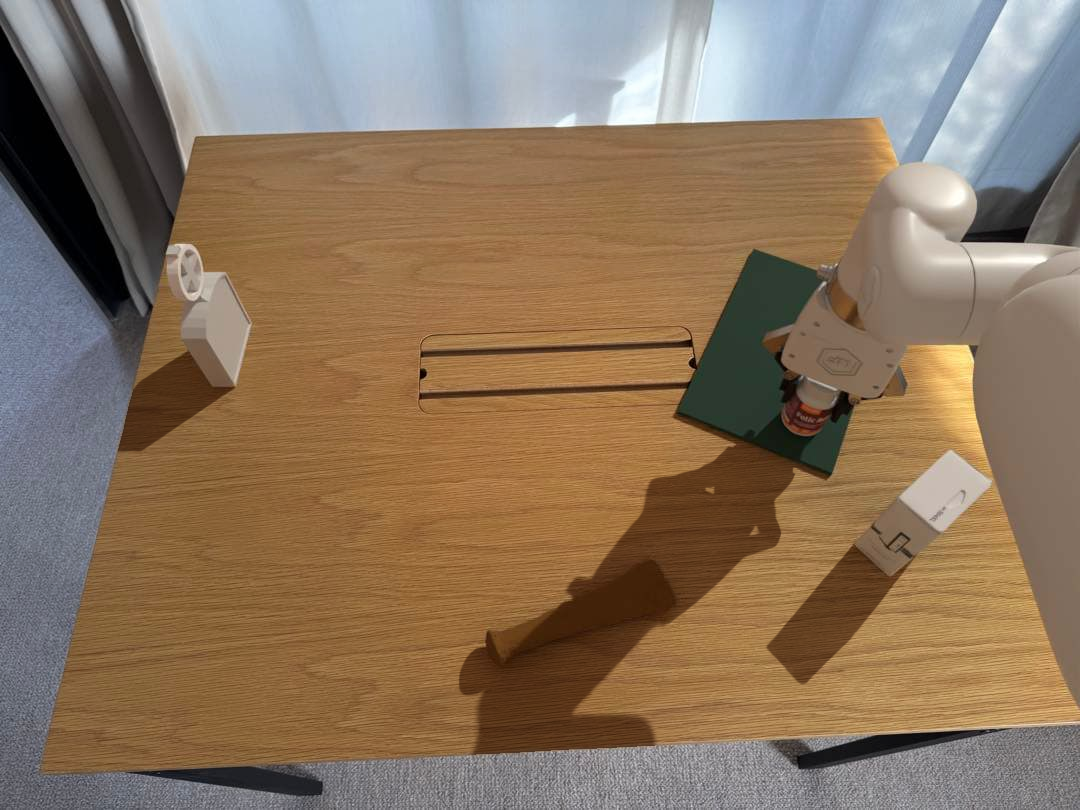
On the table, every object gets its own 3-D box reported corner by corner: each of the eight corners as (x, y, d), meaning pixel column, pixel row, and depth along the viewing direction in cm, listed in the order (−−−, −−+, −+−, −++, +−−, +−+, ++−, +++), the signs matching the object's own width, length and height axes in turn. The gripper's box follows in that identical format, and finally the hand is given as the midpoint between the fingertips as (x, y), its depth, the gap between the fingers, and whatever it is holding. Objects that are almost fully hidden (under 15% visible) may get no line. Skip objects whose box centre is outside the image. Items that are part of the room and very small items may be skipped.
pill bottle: (785, 438, 85) (807, 397, 78) (776, 402, 88) (798, 359, 81) (827, 436, 85) (854, 396, 78) (818, 400, 88) (842, 358, 81)
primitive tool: (652, 558, 79) (657, 546, 76) (680, 606, 76) (685, 595, 73) (480, 638, 75) (478, 629, 72) (503, 692, 72) (501, 684, 69)
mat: (888, 298, 97) (890, 295, 97) (830, 475, 84) (832, 473, 84) (752, 251, 102) (753, 248, 101) (676, 413, 88) (677, 410, 88)
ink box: (901, 496, 83) (951, 443, 73) (940, 529, 81) (997, 480, 71) (850, 544, 80) (895, 496, 70) (889, 580, 78) (941, 535, 68)
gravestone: (252, 323, 95) (197, 216, 80) (235, 386, 90) (174, 285, 75) (229, 323, 95) (171, 216, 80) (212, 386, 90) (146, 285, 75)
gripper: (768, 289, 68) (725, 399, 84) (963, 358, 64) (881, 460, 80) (792, 234, 72) (747, 349, 87) (978, 296, 68) (897, 405, 83)
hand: (812, 401), depth 83 cm, fingers closed on pill bottle, 4 cm apart
